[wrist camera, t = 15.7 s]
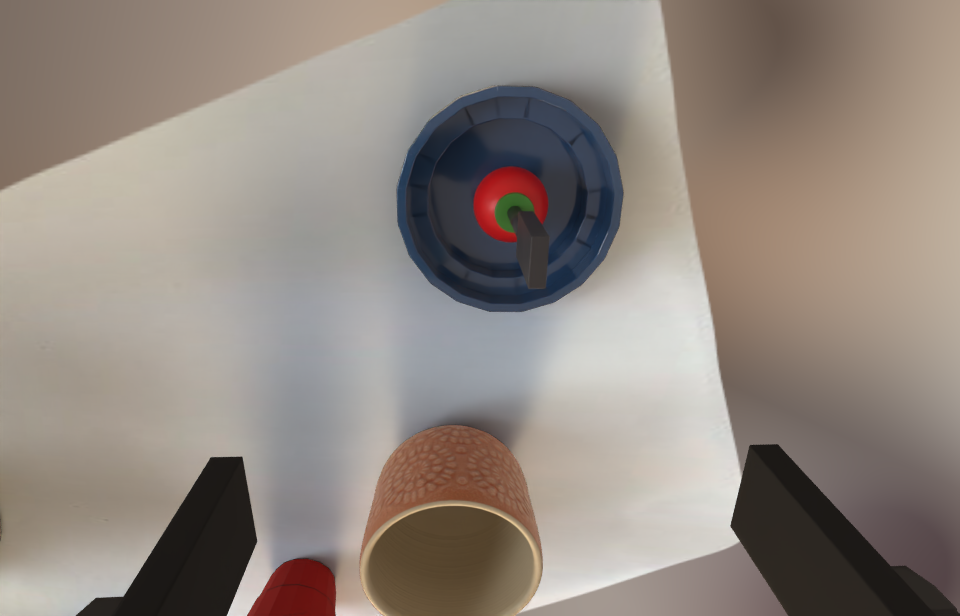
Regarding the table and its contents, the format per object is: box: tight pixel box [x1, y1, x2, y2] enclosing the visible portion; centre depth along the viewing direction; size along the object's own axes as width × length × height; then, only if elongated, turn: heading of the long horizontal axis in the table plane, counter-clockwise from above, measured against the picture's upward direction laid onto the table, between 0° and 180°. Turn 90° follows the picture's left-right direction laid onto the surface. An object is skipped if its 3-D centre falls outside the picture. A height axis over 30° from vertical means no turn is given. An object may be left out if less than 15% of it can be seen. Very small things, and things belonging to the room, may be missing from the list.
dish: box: [397, 85, 624, 312], centre depth 37 cm, size 14×14×4 cm
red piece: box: [473, 166, 550, 289], centre depth 31 cm, size 5×5×15 cm
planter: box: [360, 425, 543, 616], centre depth 42 cm, size 12×12×11 cm
